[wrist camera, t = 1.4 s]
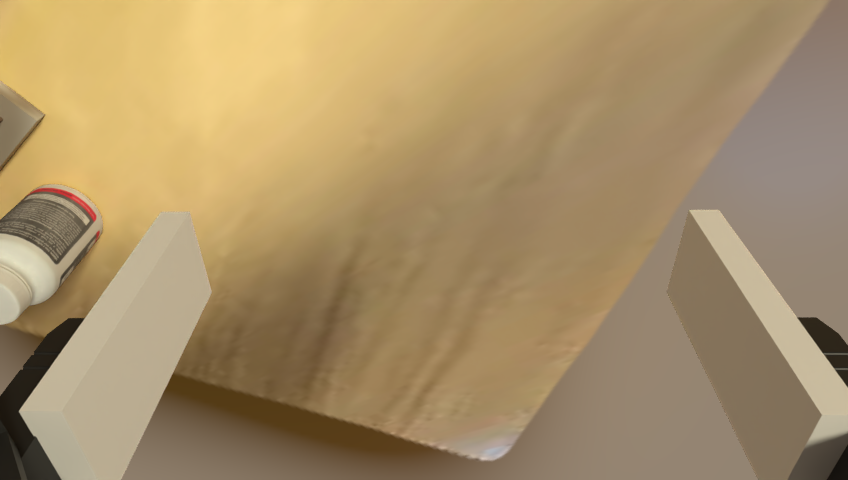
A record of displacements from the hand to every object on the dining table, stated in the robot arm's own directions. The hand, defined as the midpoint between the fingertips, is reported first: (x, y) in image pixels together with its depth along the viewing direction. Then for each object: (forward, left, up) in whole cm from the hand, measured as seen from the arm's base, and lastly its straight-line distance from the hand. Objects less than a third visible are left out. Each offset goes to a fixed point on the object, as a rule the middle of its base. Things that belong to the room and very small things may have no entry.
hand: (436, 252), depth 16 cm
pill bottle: (-7, -29, -24) cm, 39 cm away
